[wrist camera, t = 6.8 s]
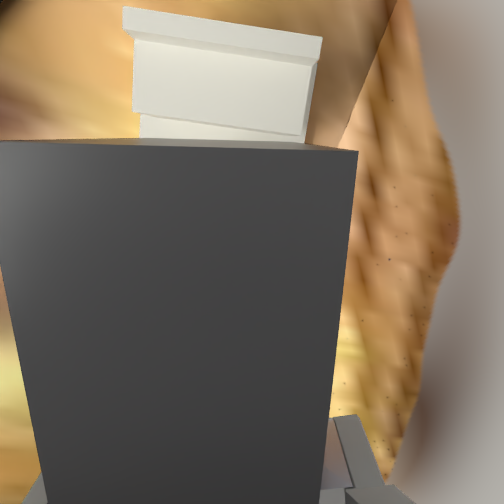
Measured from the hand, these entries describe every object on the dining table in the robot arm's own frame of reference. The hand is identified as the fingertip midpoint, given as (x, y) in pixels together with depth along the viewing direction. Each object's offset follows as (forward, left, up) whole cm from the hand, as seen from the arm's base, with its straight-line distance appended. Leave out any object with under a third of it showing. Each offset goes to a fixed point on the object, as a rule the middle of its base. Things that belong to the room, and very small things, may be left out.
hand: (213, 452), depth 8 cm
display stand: (+3, +2, -18) cm, 18 cm away
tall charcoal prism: (0, 0, -2) cm, 2 cm away
